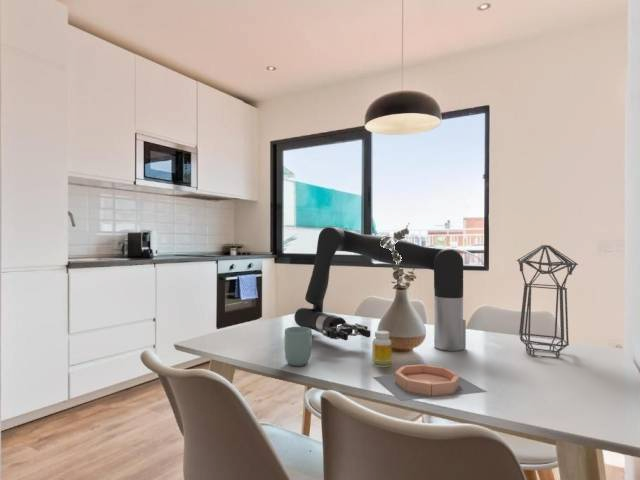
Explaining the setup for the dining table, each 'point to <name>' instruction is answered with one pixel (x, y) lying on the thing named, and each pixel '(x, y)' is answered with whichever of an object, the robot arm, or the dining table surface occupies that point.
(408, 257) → the robot arm
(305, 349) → the cup
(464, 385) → the placemat
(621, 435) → the dining table surface
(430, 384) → the bowl
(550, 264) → the geometric lantern
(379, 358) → the supplement bottle
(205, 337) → the dining table surface
